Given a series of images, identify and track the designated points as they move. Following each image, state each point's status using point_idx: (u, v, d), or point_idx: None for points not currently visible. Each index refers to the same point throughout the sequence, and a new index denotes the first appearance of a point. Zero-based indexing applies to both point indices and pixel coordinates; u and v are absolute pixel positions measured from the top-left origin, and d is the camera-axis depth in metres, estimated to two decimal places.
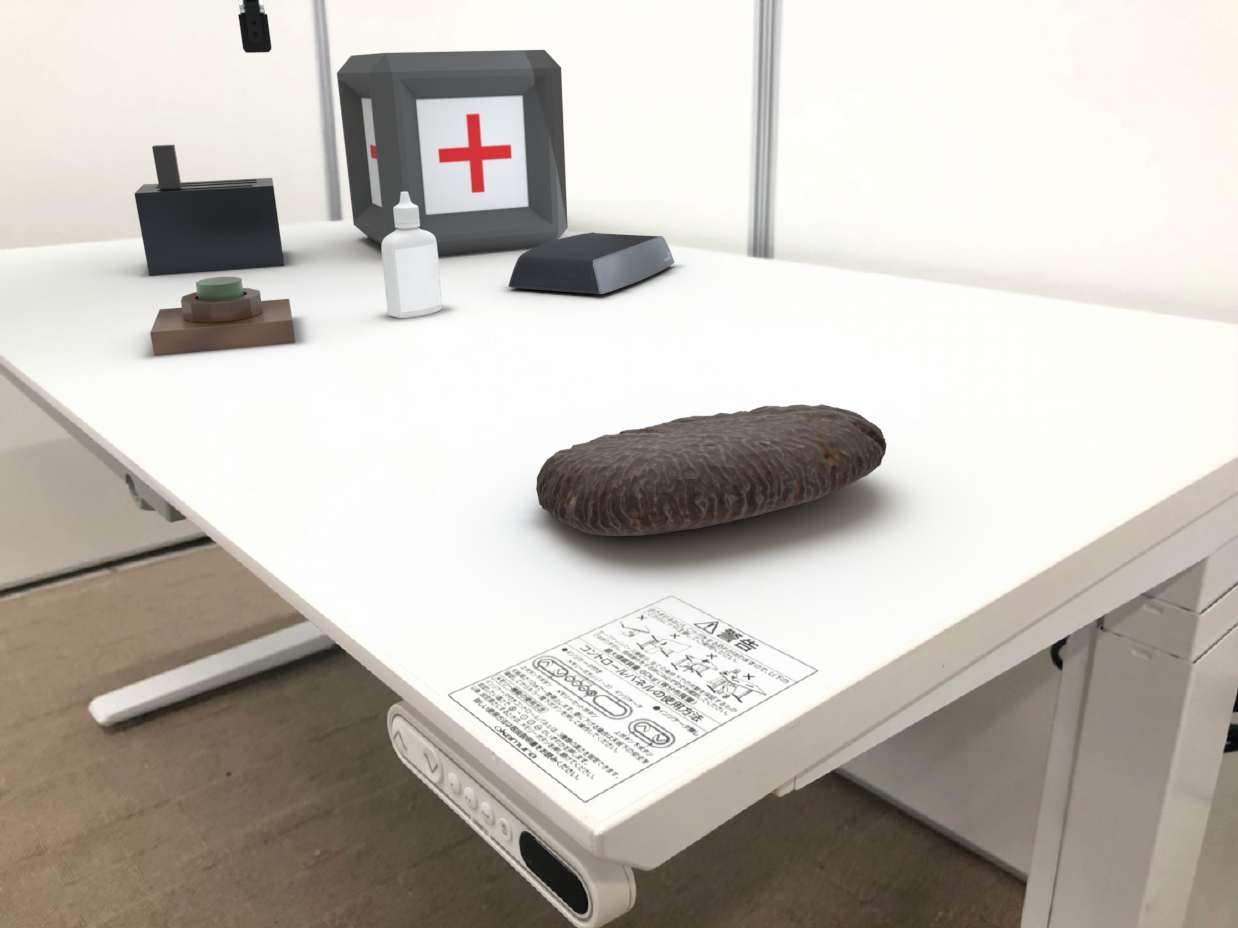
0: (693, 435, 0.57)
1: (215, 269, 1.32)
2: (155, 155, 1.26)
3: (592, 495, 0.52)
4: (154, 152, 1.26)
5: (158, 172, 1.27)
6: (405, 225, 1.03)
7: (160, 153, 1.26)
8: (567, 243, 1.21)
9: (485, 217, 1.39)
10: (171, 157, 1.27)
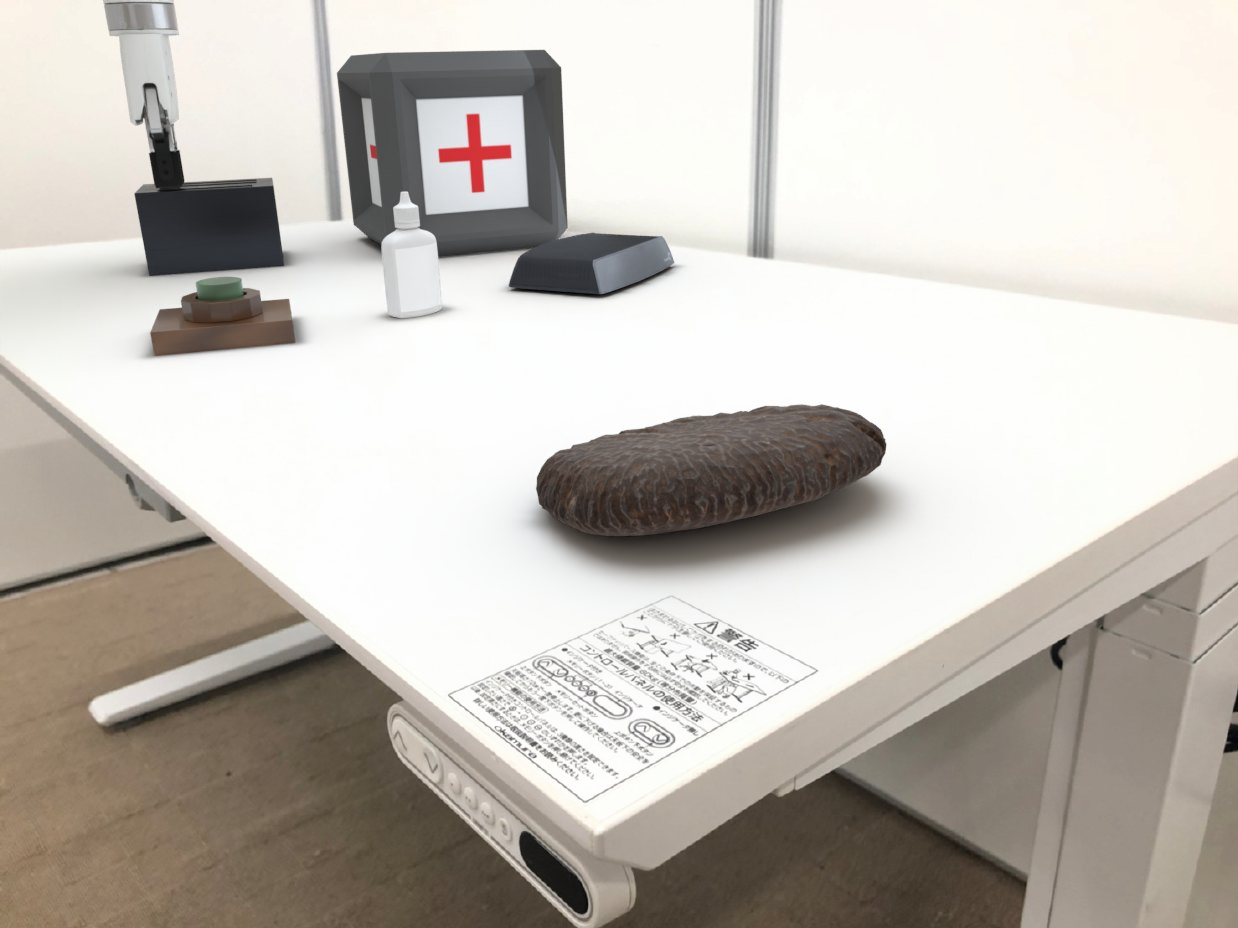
0: (693, 435, 0.57)
1: (215, 269, 1.32)
2: None
3: (592, 495, 0.52)
4: None
5: None
6: (405, 225, 1.03)
7: None
8: (567, 243, 1.21)
9: (485, 217, 1.39)
10: None
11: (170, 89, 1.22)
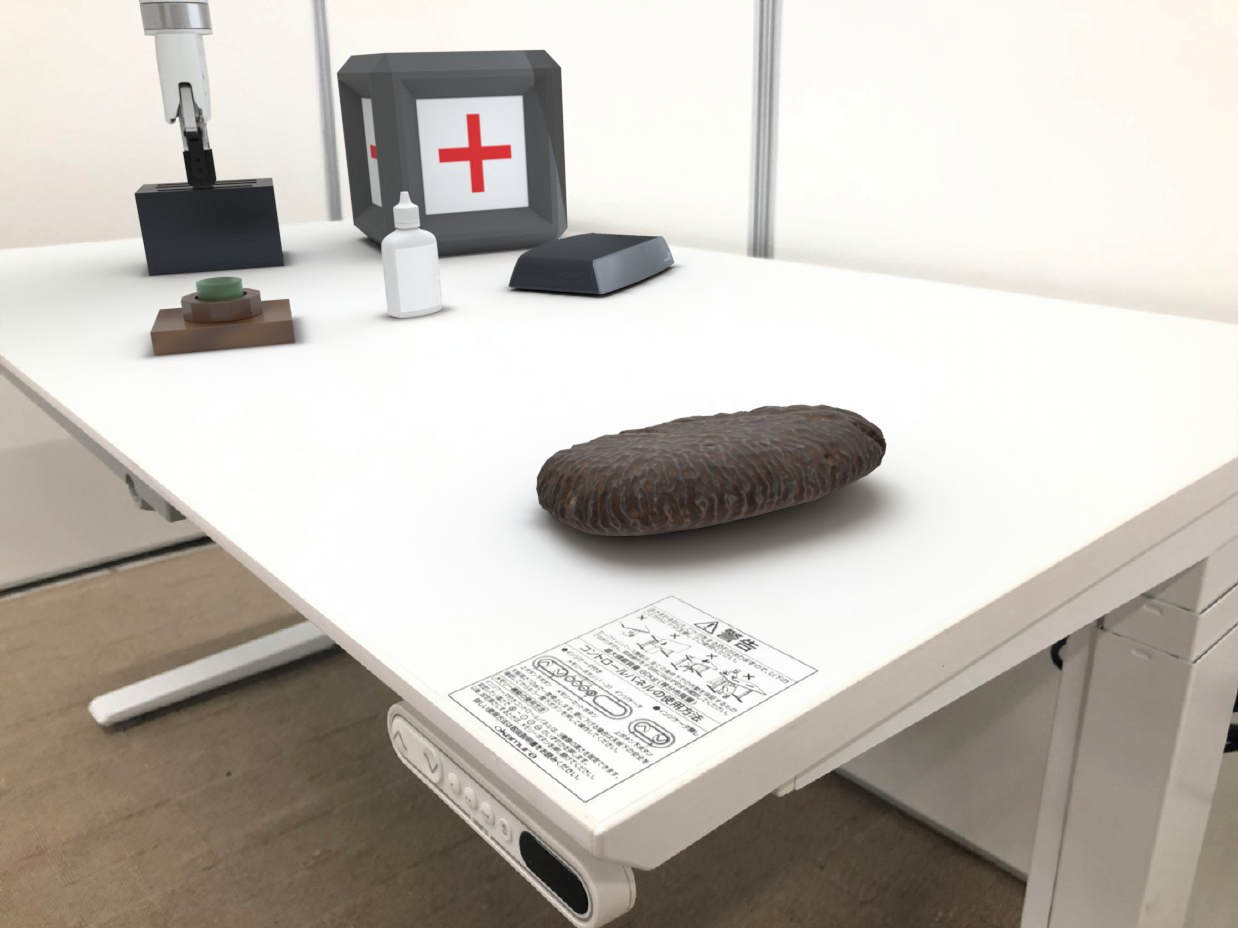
0: (693, 435, 0.57)
1: (215, 269, 1.32)
2: None
3: (592, 495, 0.52)
4: None
5: None
6: (405, 225, 1.03)
7: None
8: (567, 243, 1.21)
9: (485, 217, 1.39)
10: None
11: (205, 88, 1.23)
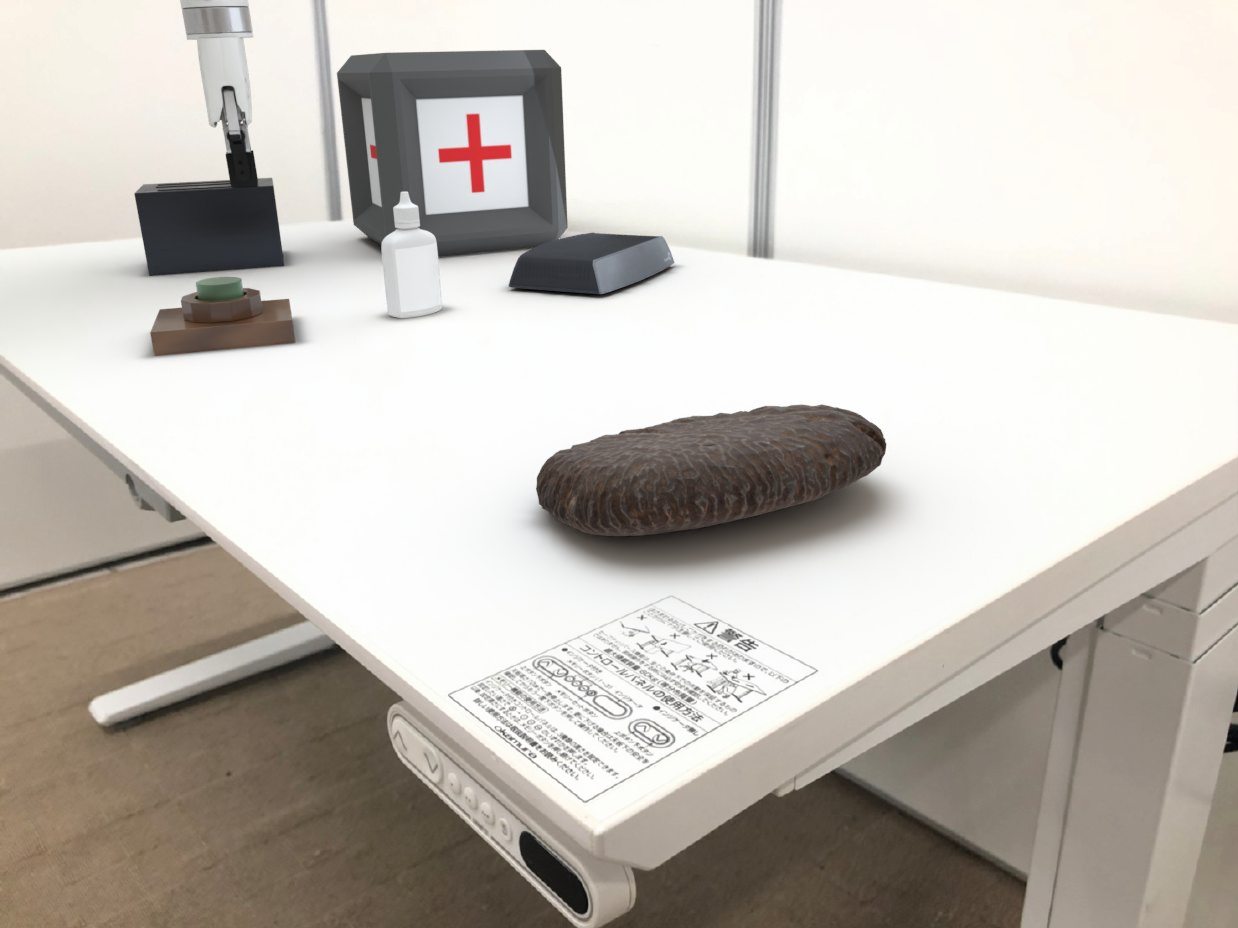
0: (693, 435, 0.57)
1: (215, 269, 1.32)
2: None
3: (592, 495, 0.52)
4: None
5: None
6: (405, 225, 1.03)
7: None
8: (567, 243, 1.21)
9: (485, 217, 1.39)
10: None
11: (247, 91, 1.24)
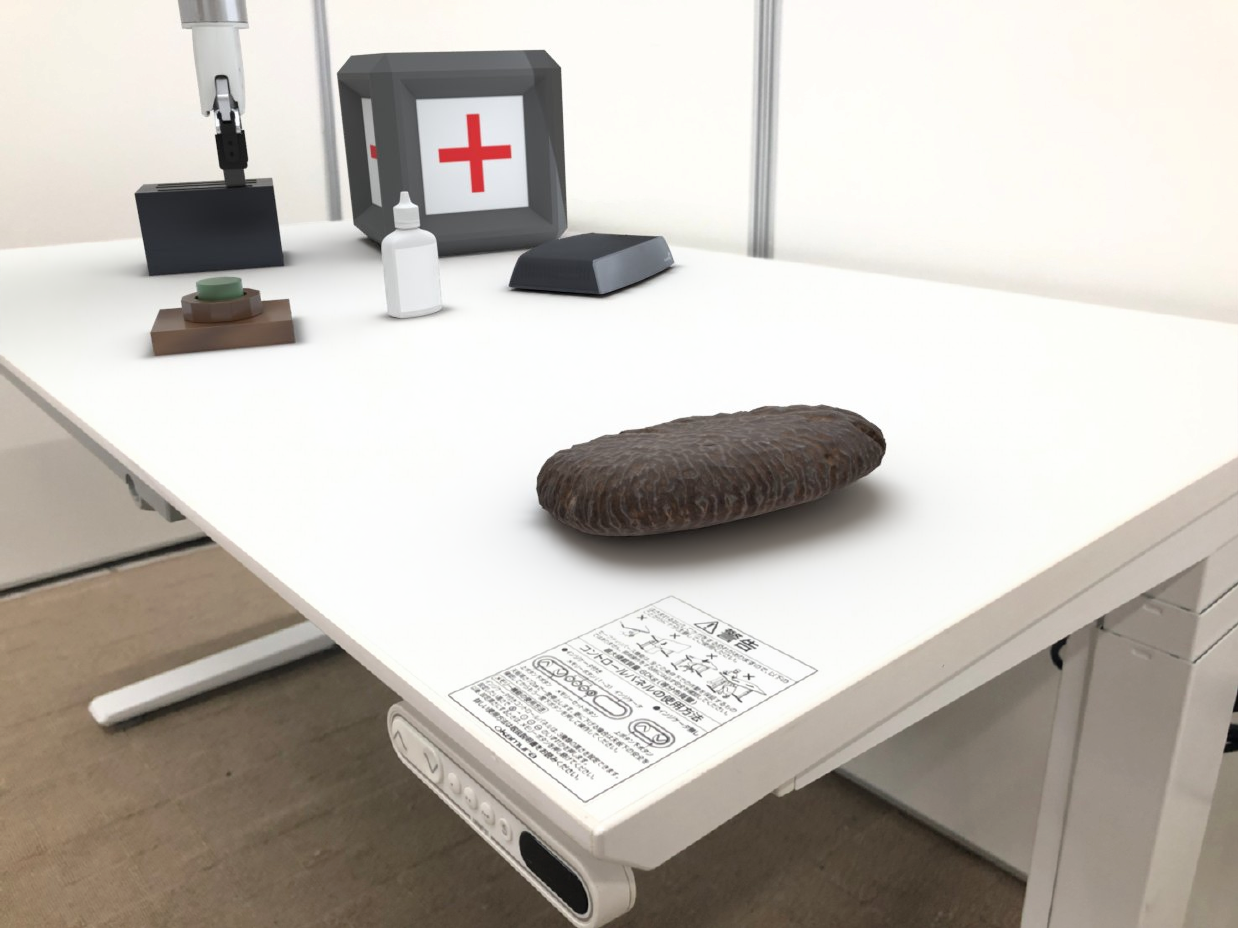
0: (693, 435, 0.57)
1: (215, 269, 1.32)
2: None
3: (592, 495, 0.52)
4: None
5: None
6: (405, 225, 1.03)
7: None
8: (567, 243, 1.21)
9: (485, 217, 1.39)
10: None
11: (241, 81, 1.24)
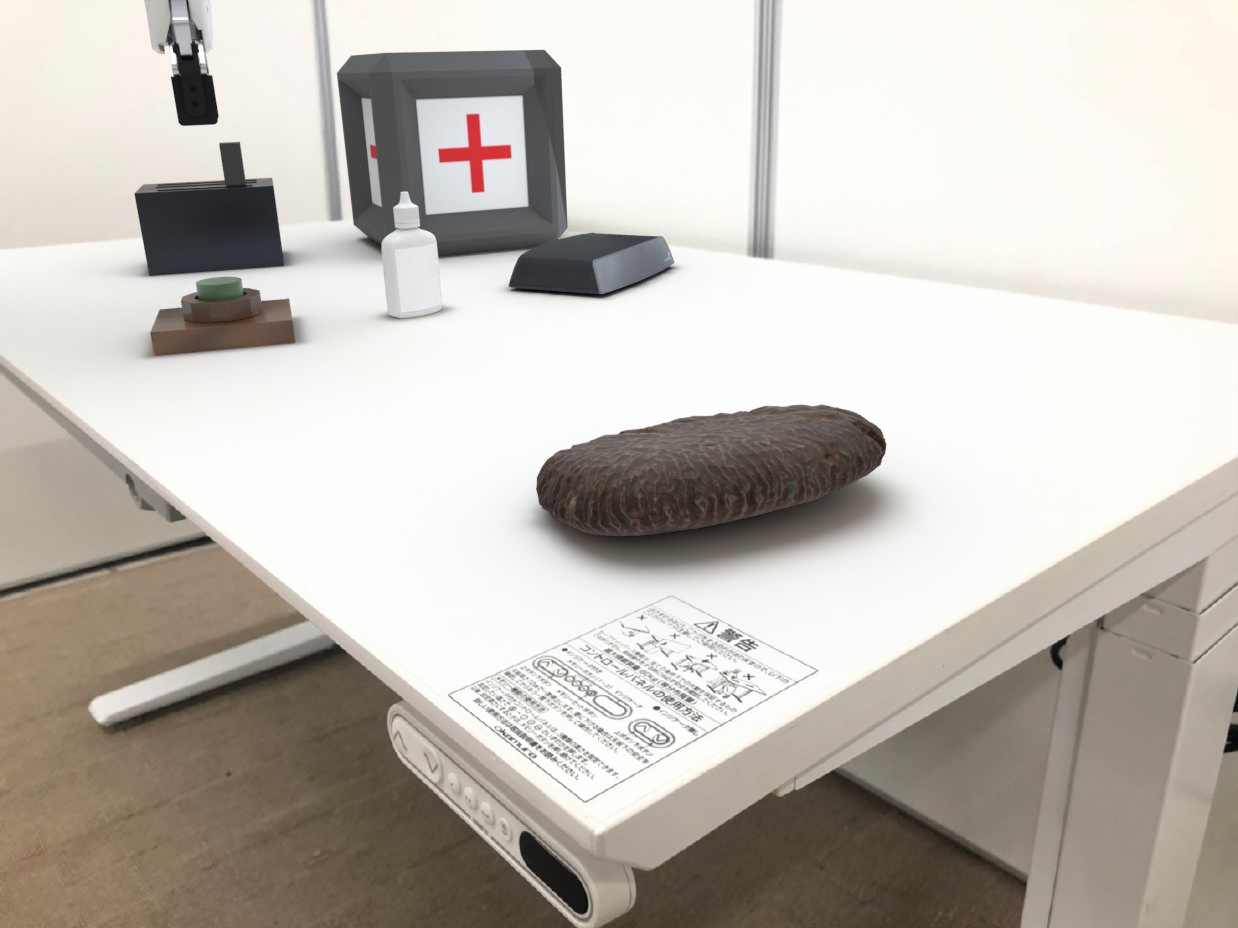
0: (693, 435, 0.57)
1: (215, 269, 1.32)
2: (222, 152, 1.28)
3: (592, 495, 0.52)
4: (221, 149, 1.28)
5: (224, 169, 1.29)
6: (405, 225, 1.03)
7: (227, 150, 1.29)
8: (567, 243, 1.21)
9: (485, 217, 1.39)
10: (237, 154, 1.29)
11: (205, 2, 0.89)
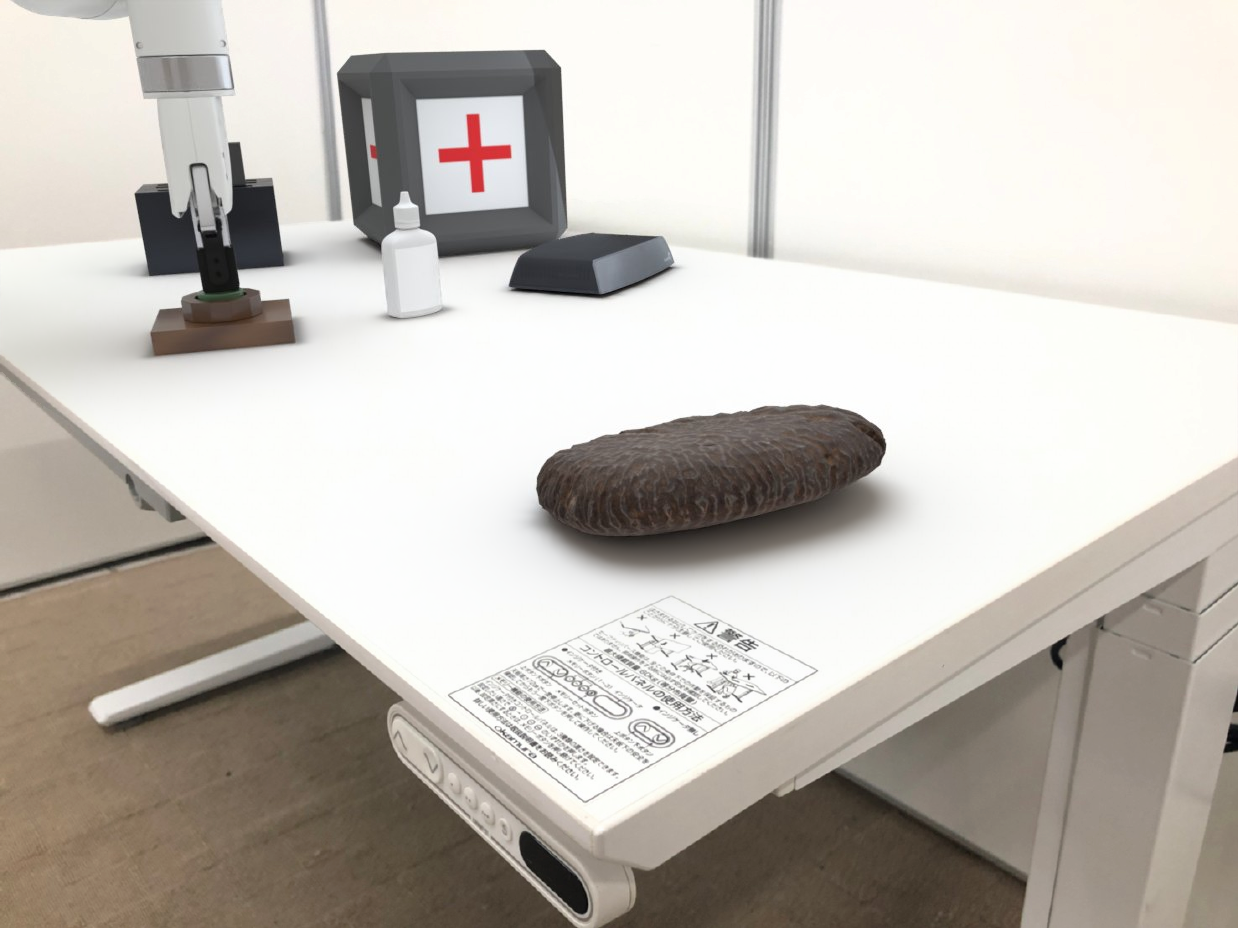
0: (693, 435, 0.57)
1: None
2: None
3: (592, 495, 0.52)
4: None
5: None
6: (405, 225, 1.03)
7: None
8: (567, 243, 1.21)
9: (485, 217, 1.39)
10: (237, 154, 1.29)
11: (225, 170, 0.91)
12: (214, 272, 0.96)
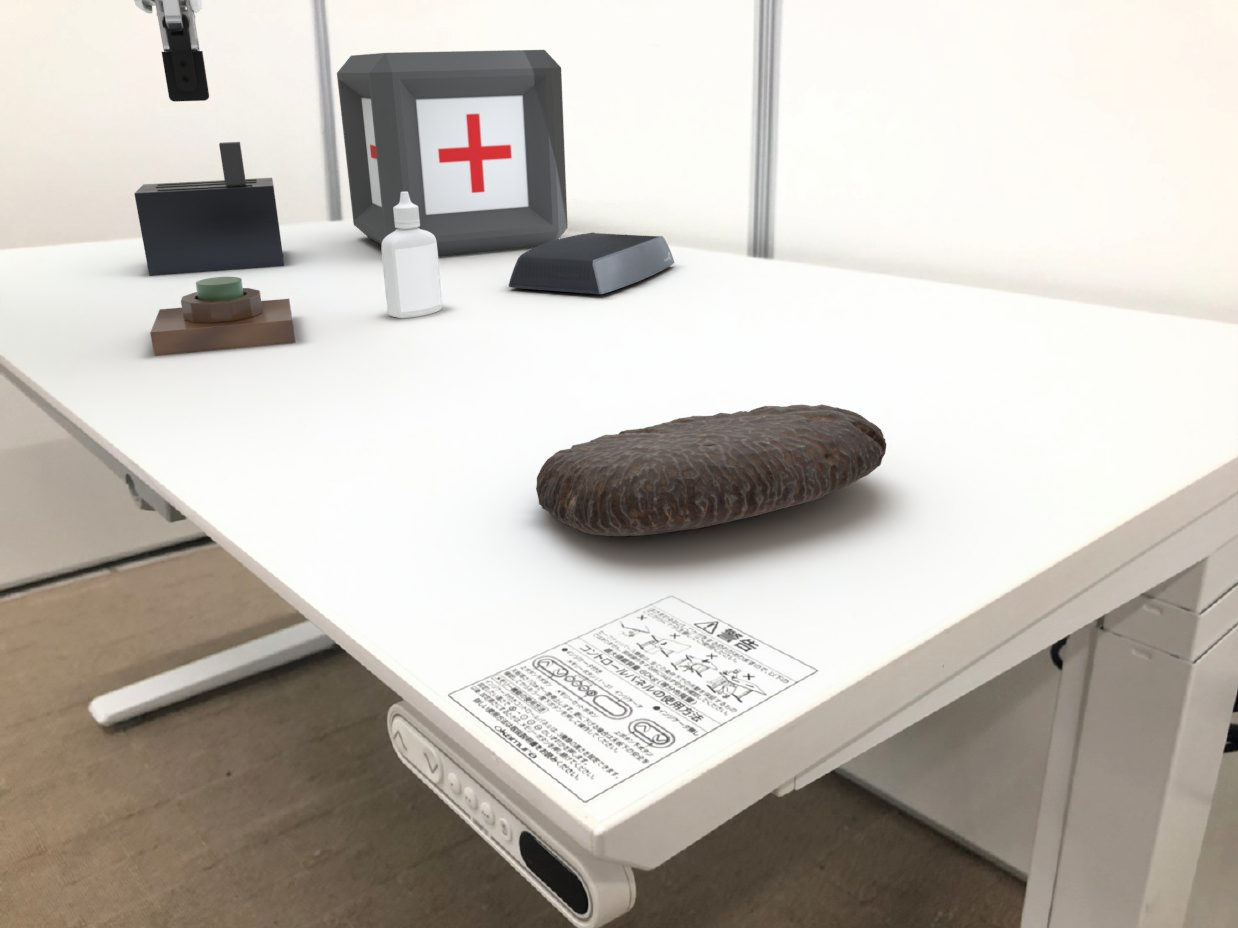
0: (693, 435, 0.57)
1: (215, 269, 1.32)
2: (222, 152, 1.28)
3: (592, 495, 0.52)
4: (221, 149, 1.28)
5: (224, 169, 1.29)
6: (405, 225, 1.03)
7: (227, 150, 1.29)
8: (567, 243, 1.21)
9: (485, 217, 1.39)
10: (237, 154, 1.29)
11: None
12: (181, 77, 0.90)
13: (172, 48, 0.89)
